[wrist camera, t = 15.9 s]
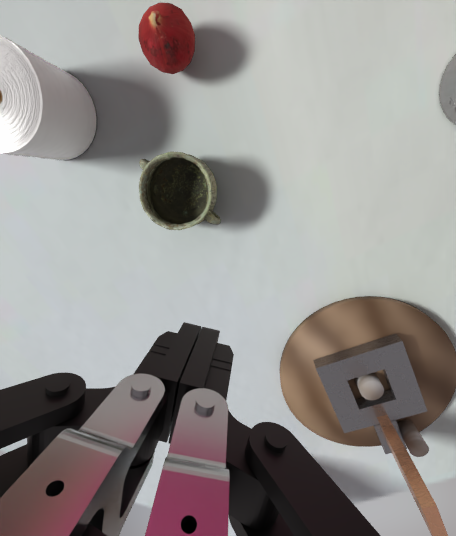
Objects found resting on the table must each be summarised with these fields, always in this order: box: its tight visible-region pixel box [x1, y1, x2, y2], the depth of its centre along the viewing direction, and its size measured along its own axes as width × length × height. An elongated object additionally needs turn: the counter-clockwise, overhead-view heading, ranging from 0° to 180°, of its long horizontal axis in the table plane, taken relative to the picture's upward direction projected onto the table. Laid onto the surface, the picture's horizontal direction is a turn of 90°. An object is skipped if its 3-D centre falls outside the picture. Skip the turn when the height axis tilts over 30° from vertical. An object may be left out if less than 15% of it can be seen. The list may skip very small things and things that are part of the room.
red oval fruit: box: [139, 3, 195, 74], centre depth 31 cm, size 6×6×8 cm
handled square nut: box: [313, 333, 448, 536], centre depth 36 cm, size 17×11×14 cm
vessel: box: [139, 152, 221, 230], centre depth 36 cm, size 12×9×6 cm
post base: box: [280, 296, 456, 457], centre depth 41 cm, size 24×24×6 cm
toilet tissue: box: [0, 35, 96, 160], centre depth 34 cm, size 11×12×10 cm
